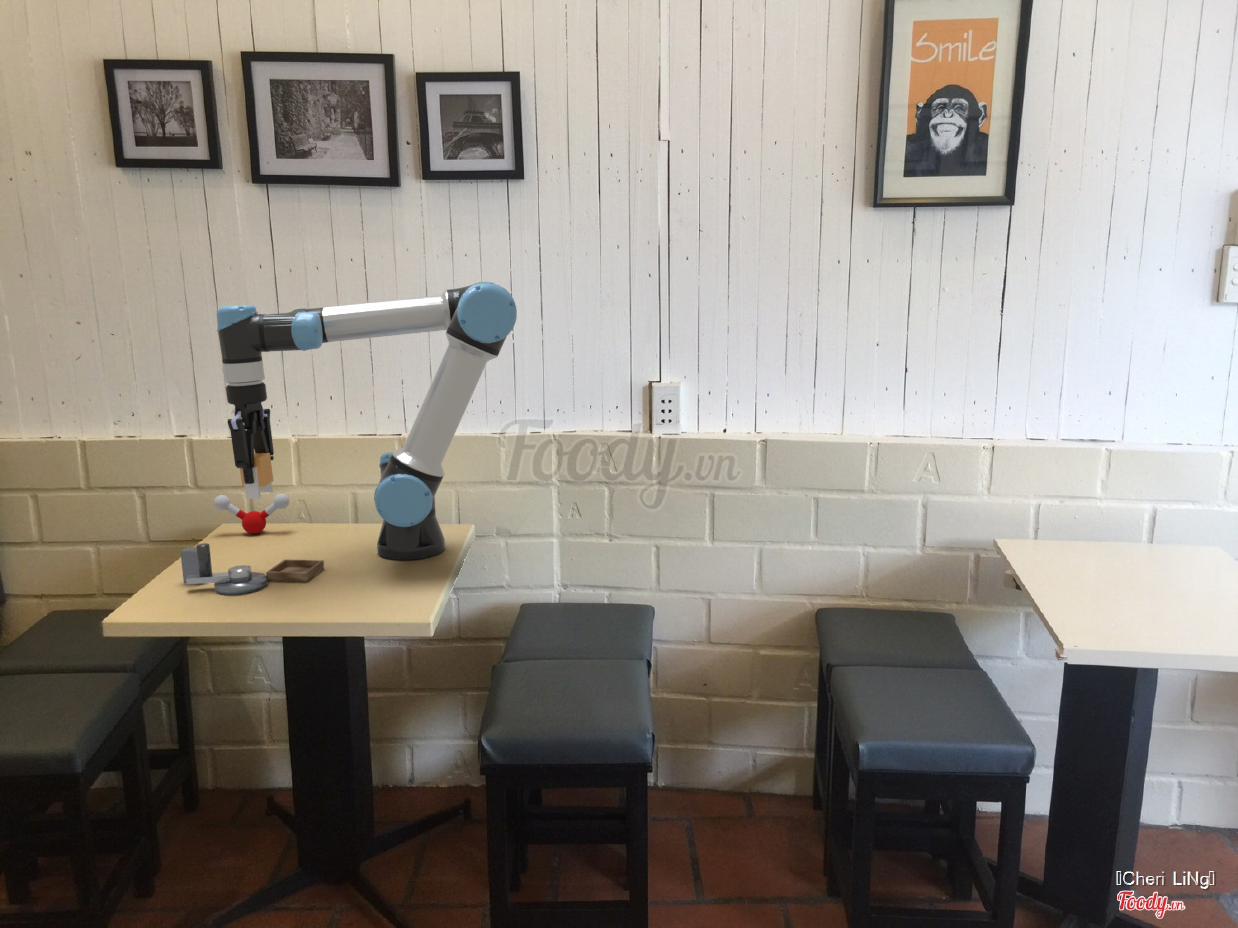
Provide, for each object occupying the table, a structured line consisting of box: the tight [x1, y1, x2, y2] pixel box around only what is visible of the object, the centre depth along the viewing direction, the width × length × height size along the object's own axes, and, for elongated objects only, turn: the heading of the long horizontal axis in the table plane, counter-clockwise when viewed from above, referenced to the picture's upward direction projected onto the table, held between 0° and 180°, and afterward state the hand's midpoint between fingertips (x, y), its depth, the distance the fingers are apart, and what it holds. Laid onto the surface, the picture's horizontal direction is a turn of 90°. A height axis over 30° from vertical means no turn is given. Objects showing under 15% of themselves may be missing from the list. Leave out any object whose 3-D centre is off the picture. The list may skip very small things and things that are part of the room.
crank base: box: [211, 571, 268, 596], centre depth 192 cm, size 10×10×2 cm
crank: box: [186, 542, 253, 585], centre depth 190 cm, size 12×4×8 cm, turn 103°
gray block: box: [180, 546, 204, 585], centre depth 194 cm, size 4×3×7 cm
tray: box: [265, 558, 325, 584], centre depth 198 cm, size 9×9×2 cm
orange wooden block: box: [239, 452, 274, 488], centre depth 193 cm, size 4×4×6 cm
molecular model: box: [213, 493, 290, 535], centre depth 228 cm, size 18×6×10 cm, turn 102°
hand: (259, 494), depth 194 cm, fingers closed on orange wooden block, 4 cm apart
